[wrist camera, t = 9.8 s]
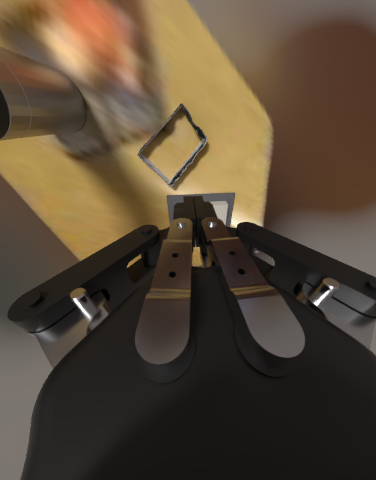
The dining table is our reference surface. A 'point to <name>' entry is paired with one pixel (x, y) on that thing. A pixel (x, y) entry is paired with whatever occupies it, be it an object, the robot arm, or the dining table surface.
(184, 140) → the dining table surface
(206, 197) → the rubber mat
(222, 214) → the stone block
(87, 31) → the dining table surface
